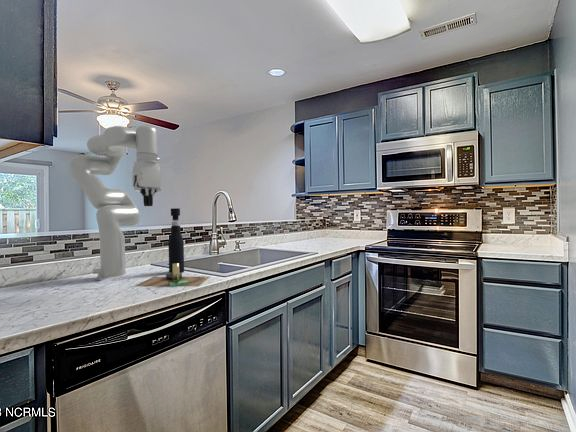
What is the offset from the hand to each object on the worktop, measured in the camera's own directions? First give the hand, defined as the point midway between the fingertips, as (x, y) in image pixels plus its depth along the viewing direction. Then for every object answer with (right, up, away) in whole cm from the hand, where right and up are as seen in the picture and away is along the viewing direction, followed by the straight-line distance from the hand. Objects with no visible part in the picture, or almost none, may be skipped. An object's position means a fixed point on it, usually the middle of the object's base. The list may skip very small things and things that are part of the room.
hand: (148, 206), depth 125 cm
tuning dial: (+11, -29, 0) cm, 31 cm away
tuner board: (+10, -31, 0) cm, 33 cm away
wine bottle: (+5, -31, +18) cm, 36 cm away
